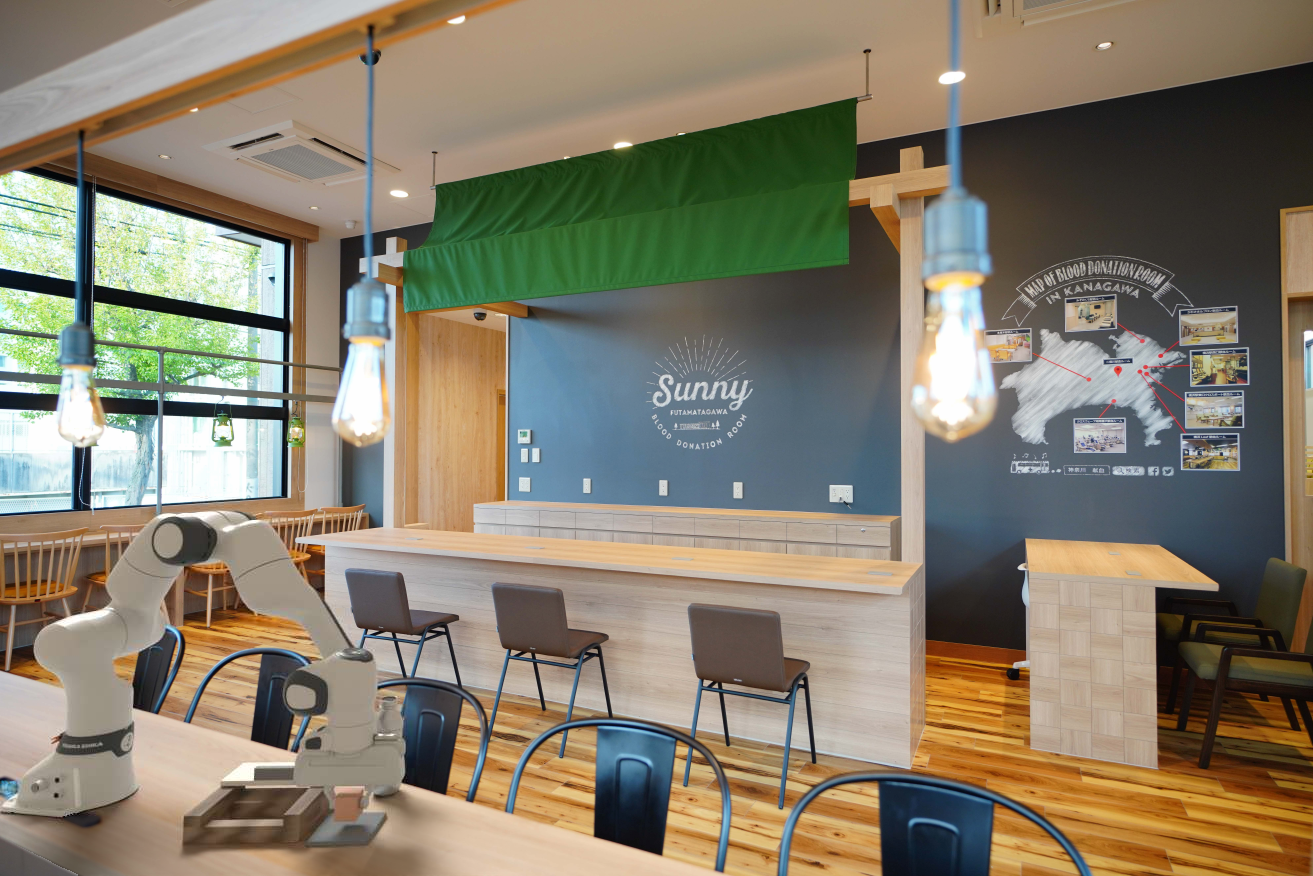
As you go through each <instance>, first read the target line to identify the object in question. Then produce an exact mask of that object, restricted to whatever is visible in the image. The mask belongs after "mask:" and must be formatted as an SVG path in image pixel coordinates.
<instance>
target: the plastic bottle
mask: <svg viewBox="0 0 1313 876" xmlns="http://www.w3.org/2000/svg"><path fill="white" fill-rule="evenodd" d="M378 706H379V708H378V709H379V711H378V712H377V713H376V734H385V735H391V734H397V735H398V736H399V737H402V734H403V728H404V719H403V718H404V717H403V716H402V714H401V713H400V712H399V710H398V709H397V708H398V706H399V704H398V697H397V696H395V695H386V696H383V697H381V698H380V699H379V705H378ZM398 740H400V739H398ZM402 780H403V779H402ZM402 780H401V781H400V782H399V783H398V785H396V786H375V788H374V790H373V791H372V794H374V795H376V796H378V797H379V796H381V797H383V796H390V795H393V794H395V793H397V792H398V791H399V790H400V788H401V786H402Z"/></svg>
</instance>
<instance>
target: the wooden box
mask: <svg viewBox="0 0 1313 876" xmlns="http://www.w3.org/2000/svg"><path fill="white" fill-rule="evenodd" d="M334 789H335V787H334V788H333V790H334ZM334 791H335V790H334ZM327 810H329V800H328V798H327V797H326V795H325V793H324V787H251V788H250V787H248V788H247V787H246V786H219V787H218V788H217V789H216V790H215V791H213V792H212V793H211V794H210V795H208V796H207V797H205V799H204V800H202V801H200V802H199V803H198V804H197V805H196V806H195V807H193V808H191V810H190V811H188V812H187V813H186V814H185V815H183V826H182V827H183V828H182V844H183V845H186V844H187V845H189V844H190V845H192V844H248V843H249V844H253V843H254V844H255V843H256V844H257V843H261V844H262V843H266V844H267V843H299V842H300V841H301V840H302V839H304V837H305V836H306V835H307V833H308V832H309V831H310V830H311V828H313V826H314V825H315V824H316V823H317V822H318V821H319V819H320V818H321V817H322V816H323V815H324V814H325V812H327ZM268 818H269V819H268ZM274 818H275V819H274ZM276 818H277V819H276ZM280 818H281V819H280Z"/></svg>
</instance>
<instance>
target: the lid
mask: <svg viewBox="0 0 1313 876" xmlns="http://www.w3.org/2000/svg"><path fill="white" fill-rule="evenodd" d="M294 766H295V761H294V762H293V761H287V762H285V761H283V762H281V761H280V762H278V761H277V762H274V761H273V762H243V763H241V764H240V765H239V766H238V767H236V768H235V769H234V770H232V771H231V772H230V773H229V774H228V775H226V776H225V777H224V778H223V779H221V780H220V781H219V782H220V784H219V785H220V786H219V787H221V786H245V787H251V786H252V787H253V786H254V787H255V786H257V787H259V786H260V787H262V786H263V787H265V786H270V787H273V786H296V784H295V783H294V781H293V775H294Z"/></svg>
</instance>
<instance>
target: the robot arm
mask: <svg viewBox="0 0 1313 876" xmlns="http://www.w3.org/2000/svg"><path fill="white" fill-rule="evenodd" d="M219 563H223V564H225V565H226V566H227V569H228V571H229V573H230V577H232V580H233V584H234V586H235V588H236V590H237V593H238V594H239V597H240V598H241V601H242V602H243V603H244V604H245V606H246V607H247V608H248V609H249V610H250V611H253V612H255V613H257V614H259V615H263V616H267V617H275V618H282V619H285V620H289V621H292V622H295V623H296V624H298V625H300V626H301V627H302V628H303V629H304V630H305V632H306V633H307V634H308V637H310V640H311V641H312V643H313V645H314V646H315V648H316V649H317V651H318V653H319V654H320V656H321V657H322V659H321V660H318V661H315V662H312V663H310V664H307V665H304V666H302V667H299V668H298V669H296V670H295V669H294V671H292V672H290V674H288V676H287V677H286V679H285V681H284V684H283V689H282V698H283V703H284V705H285V706H286V709H287V710H288V711H289V712H290V713H291V714H293V715H295V716H296V717H299V718H306V717H307V718H308V717H317V716H321V715H324V716H325V717H326V724H323V725H319V726H317V727H315V728H313V729H312V730H310V731H309V732H308V733H305V735H304V736H303V737H302V738H301V739H300V740H299V749H300V751H299V752H298V753H297V754H296V758H295V761H294V762H295V766H294V775H293V781H294V783H295V784H296V785H295V786H296V788H310V787H324V793H325V795H326V797H327V798H328V800H329V807H328V810H334V807H335V797H336V796H337V794H336V792H335V790H333V788H334V789H335V787H364V792H366V793H365V795H364V796H361V797H360V799H359V800H358V804H359V806H358V809H363V810H365V809H367V808H368V807H369V805H370V796H371V794H373V792H372V791H373V790H374V788H375V786H396V785H398V783H399V782H400V781H401V780H403V779H404V777H405V775H406V763H405V754H406V748H407V747H406V746H407V745H406V744H407V743H406V740H405V739H404V738H403V737H402V736H401V737H399V736H398V735H397V734H391V735H385V734H376V716H377V710H376V707H375V705H376V704H375V703H376V699H377V696H378V667H377V666H378V665H377V661H376V658H375V656H374V653H372V652H371V651H369V650H368V649H365V648H362V647H361V648H360V647H355V645H354V644H353V643H352V641H351V640H350V639H349V637H348V636H347V633H346V631H345V630H344V629H343V627H342V626H341V624H340V622H339V620H338V619H337V618H336V616H335V615H334V613H333V611H332V609H331V607H330V606H329V605H328V603H327V601H326V600H325V599H324V597H323V596H322V595H321V593H320V592H319V591H317V590H316V589H315V588H314V587H312V585H310V584H309V583H308V582H307V581H306V579H305V578H304V577H303V575H302V574H301V573H300V571H299V569H298V568H297V566H296V565H295V563H294V560H293V558H292V557H291V554H290V552H289V550H288V548H287V546H286V545H285V542H284V541H283V539H282V538H281V537H280V535H279V534H278V532H277V531H276V530H275V528H274V527H273V526H272V525H271V524H270V523H269V522H267V521H265V520H260V519H258V518H257V517H256V516H254V515H252V514H250V513H248V512H245V511H239V510H235V511H232V510H231V511H228V510H208V511H199V512H198V511H197V512H191V513H190V512H182V513H181V512H180V513H177V514H176V513H161V514H159V515H157V516H155V517H153V518H152V519H151V520H150V521H148V523H147V524H146V525H145V526H144V527H143V528H142V529H140V531H139V532H138V533H137V534H136V536H135V537H134V538H133V539H132V541H131V542H130V543H129V545H128V546H127V547H126V549H125V550H124V552H123V553H122V555H121V556H120V558H119V559H118V561H117V562H116V564H115V565H114V567H113V569H112V570H111V572H110V573H109V575H108V576H107V577H106V580H105V589H106V592H107V594H108V595H109V597H110V598H111V601H110V602H109V603H108V605H106V606H105V607H104V608H100V609H98V610H95V611H89V612H88V611H87V612H84V613H80V614H78V613H77V614H75V615H70V616H67V617H65V618H62V619H60V620H57V621H55V622H53V623H51V624H48V625H46V626H45V627H43V628H42V629H41V630H40V631H39V632H38V634H37V636H36V638H35V640H34V644H33V654H34V657H35V660H36V661H37V663H38V665H39V666H41V667H42V668H43V669H45V670H46V671H49V672H50V673H53V674H54V675H55V676H56V677H57V678H58V680H59V681H60V683H61V684H62V688H63V689H64V690H63V691H64V693H65V698H66V701H65V702H66V720H65V721H66V723H65V724H66V726H65V730H64V731H63V732H61V733H60V734H58V735H57V736H55V737H52V738H51V741H52V742H51V745H54V744H55V743H58V744H57V746H56V748H55V750H54V751H53V752H52V753H50V754H49V755H48V756H46V757H45V758H43V759H42V760H41V761H39V762H37V764H35V765H34V766H32V767H31V768H30V769H29V770H27V771H26V772H25V773H24V775H23V776H22V778H21V780H20V783H19V787H18V790H17V793H16V794H14V795H12V796H11V797H10V798H8V799H6V800H5V802H3V804H2V805H1V810H0V811H1V812H3V813H11V812H14V814H23V815H35V816H45V817H46V816H47V817H58V818H64V817H63V816H65V817H68V816H67V815H69V816H71V815H70V814H72V815H74V814H73V813H75V814H78V813H80V812H83V811H88V810H91V809H95V808H100V807H105V806H108V805H110V804H114V803H116V802H118V801H120V800H123V799H125V798H127V797H130V796H131V795H132V794H134V793H135V792H136V791H137V790H138V788H139V783H138V781H137V778H136V774H135V768H134V761H133V746H134V740H135V722H134V720H133V709H134V708H133V707H134V687H133V685H132V683H131V682H130V681H128V680H127V679H125V678H122V677H119V676H118V675H117V673H116V670H115V667H114V664H115V663H114V661H115V660H116V659H119V658H123V657H127V656H130V655H134V654H137V653H140V652H141V651H144V650H145V649H147V648H149V647H151V646H153V645H155V644H156V643H158V642H160V640H161V639H162V638H163V636H164V634H165V633H166V629H167V620H166V616H165V614H164V612H163V611H162V609H161V606H162V604H163V601H164V598H165V597H166V595H167V594H168V592H169V591H170V589H171V588H172V586H173V584H174V583H175V581H176V580H177V579H178V577H179V575H180V574H181V572H182V571H183V569H184V567H190V566H207V565H214V564H219ZM398 739H400V740H398Z"/></svg>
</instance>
